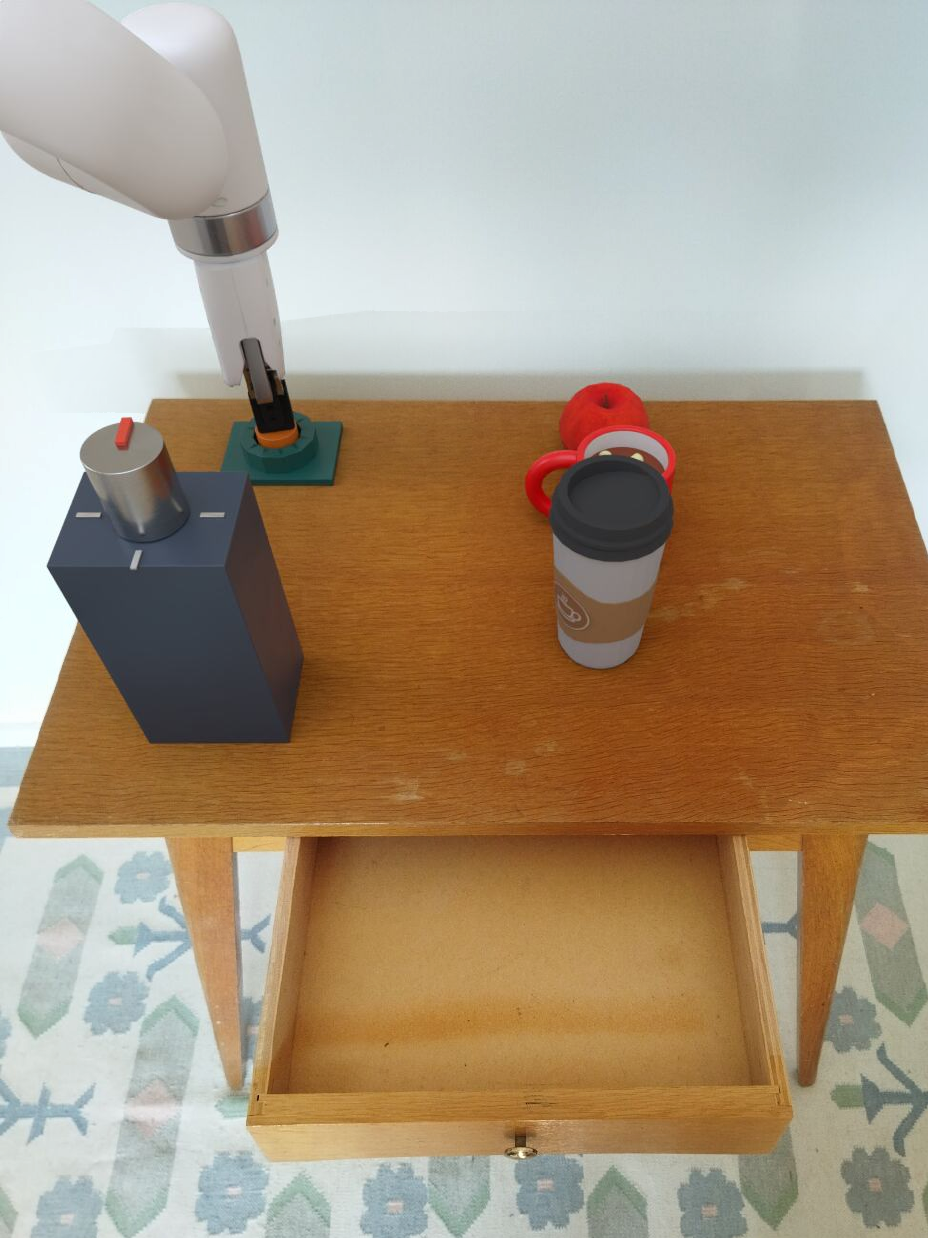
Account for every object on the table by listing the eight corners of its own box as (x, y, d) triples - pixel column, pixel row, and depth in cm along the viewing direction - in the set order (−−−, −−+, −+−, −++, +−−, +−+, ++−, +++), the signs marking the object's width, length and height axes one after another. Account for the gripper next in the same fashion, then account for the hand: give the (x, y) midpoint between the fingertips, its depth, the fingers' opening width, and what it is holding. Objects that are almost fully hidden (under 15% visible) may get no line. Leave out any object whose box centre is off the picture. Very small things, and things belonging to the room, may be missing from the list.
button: (257, 459, 84) (251, 440, 82) (263, 432, 86) (258, 414, 84) (298, 459, 84) (293, 440, 82) (303, 432, 86) (298, 414, 84)
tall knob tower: (148, 747, 68) (42, 568, 53) (173, 653, 72) (83, 465, 58) (289, 746, 68) (223, 568, 53) (304, 652, 73) (248, 465, 58)
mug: (528, 491, 83) (529, 417, 77) (665, 501, 83) (677, 427, 76) (519, 555, 79) (519, 482, 72) (663, 566, 78) (676, 493, 72)
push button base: (219, 485, 83) (212, 463, 81) (235, 427, 88) (228, 404, 86) (333, 485, 84) (328, 463, 82) (343, 427, 88) (338, 404, 86)
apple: (593, 423, 89) (598, 353, 83) (663, 458, 86) (673, 388, 80) (540, 466, 85) (541, 396, 79) (611, 504, 82) (618, 435, 76)
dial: (183, 541, 54) (154, 467, 50) (105, 544, 54) (68, 471, 50) (194, 489, 57) (167, 415, 52) (119, 491, 56) (85, 418, 52)
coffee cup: (523, 630, 74) (523, 481, 62) (606, 584, 77) (621, 433, 65) (590, 699, 70) (604, 555, 58) (674, 648, 73) (704, 500, 61)
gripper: (166, 173, 72) (228, 381, 87) (170, 279, 64) (238, 489, 79) (266, 162, 73) (310, 370, 88) (283, 265, 65) (329, 475, 80)
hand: (276, 425), depth 83 cm, fingers closed
